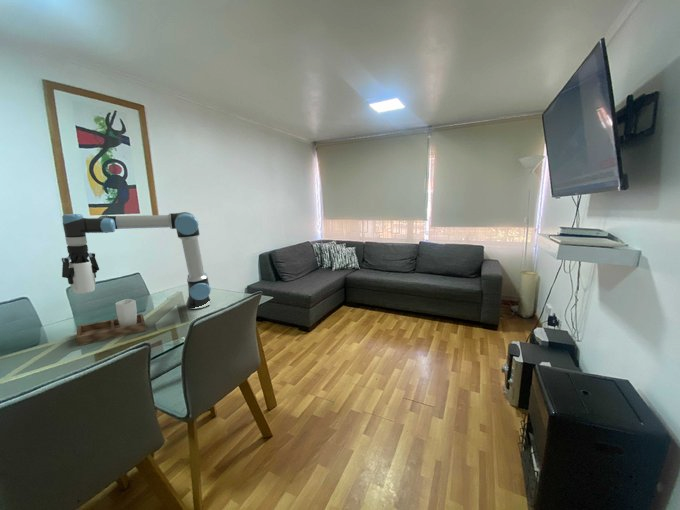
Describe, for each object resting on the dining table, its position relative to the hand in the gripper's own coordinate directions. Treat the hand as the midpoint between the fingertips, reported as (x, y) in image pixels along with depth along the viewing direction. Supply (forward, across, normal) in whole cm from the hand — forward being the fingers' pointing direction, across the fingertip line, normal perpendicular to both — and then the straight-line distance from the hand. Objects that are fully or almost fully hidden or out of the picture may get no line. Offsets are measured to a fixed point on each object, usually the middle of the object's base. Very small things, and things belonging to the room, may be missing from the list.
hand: (83, 286), depth 141 cm
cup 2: (+24, -7, +16) cm, 30 cm away
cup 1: (+2, 0, 0) cm, 2 cm away
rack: (+25, -2, +13) cm, 28 cm away
